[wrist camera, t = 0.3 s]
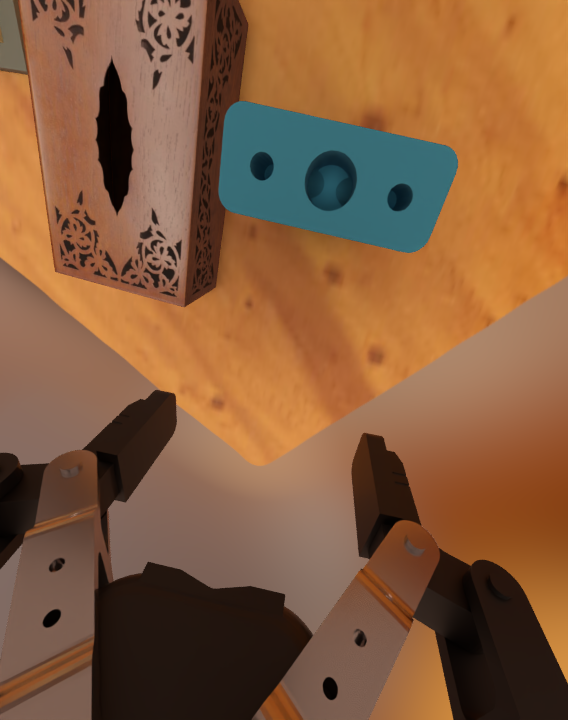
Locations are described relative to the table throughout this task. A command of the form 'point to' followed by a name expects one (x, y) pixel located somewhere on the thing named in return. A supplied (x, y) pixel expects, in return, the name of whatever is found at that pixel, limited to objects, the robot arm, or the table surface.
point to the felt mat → (11, 38)
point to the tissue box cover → (134, 136)
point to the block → (333, 176)
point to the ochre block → (0, 38)
